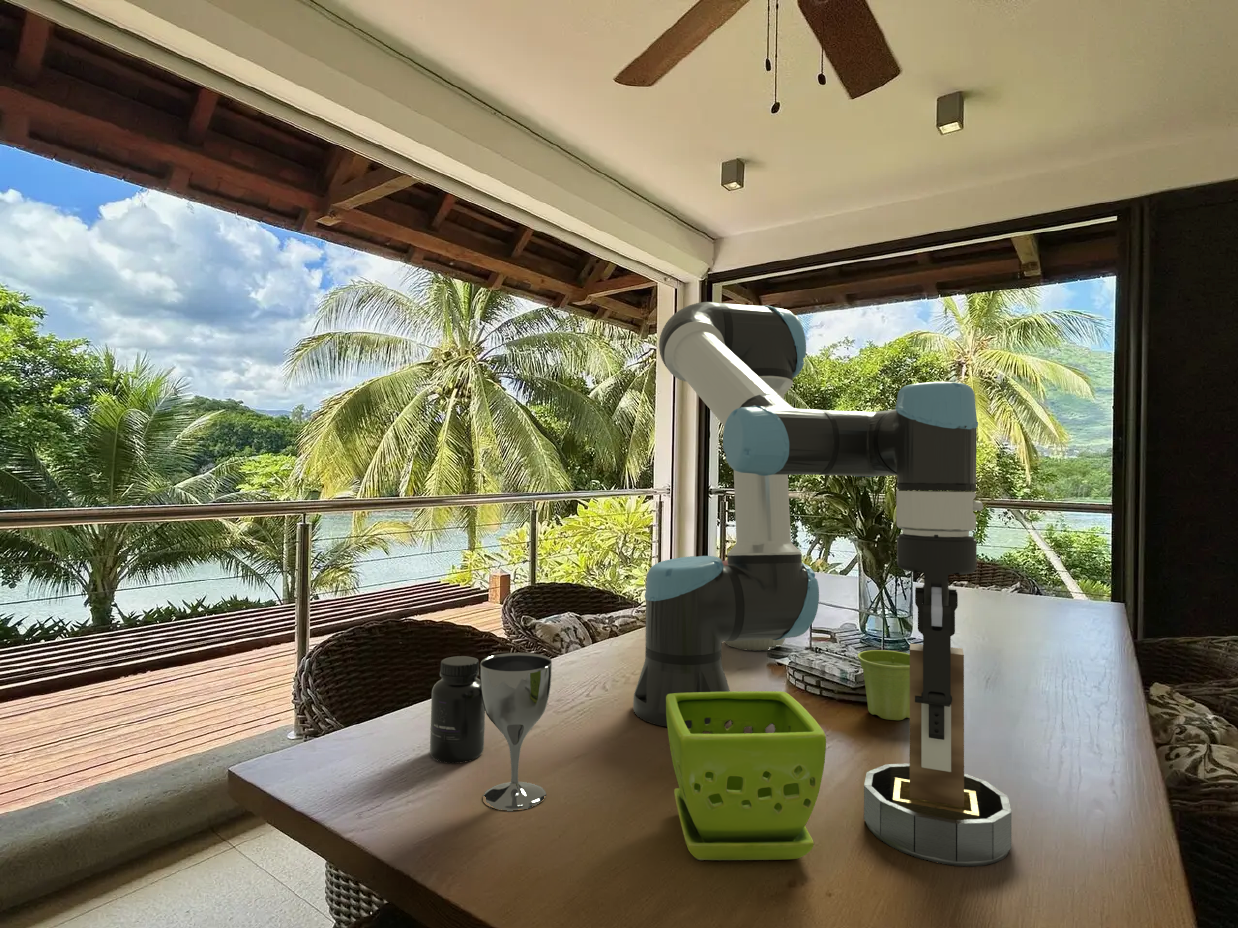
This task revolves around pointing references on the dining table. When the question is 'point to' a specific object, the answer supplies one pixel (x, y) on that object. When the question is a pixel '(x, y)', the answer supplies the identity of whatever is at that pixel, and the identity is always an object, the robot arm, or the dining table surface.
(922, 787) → the wooden slab
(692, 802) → the flower pot
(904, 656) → the plant pot
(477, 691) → the supplement bottle
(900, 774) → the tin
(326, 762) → the dining table surface
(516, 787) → the wine glass
